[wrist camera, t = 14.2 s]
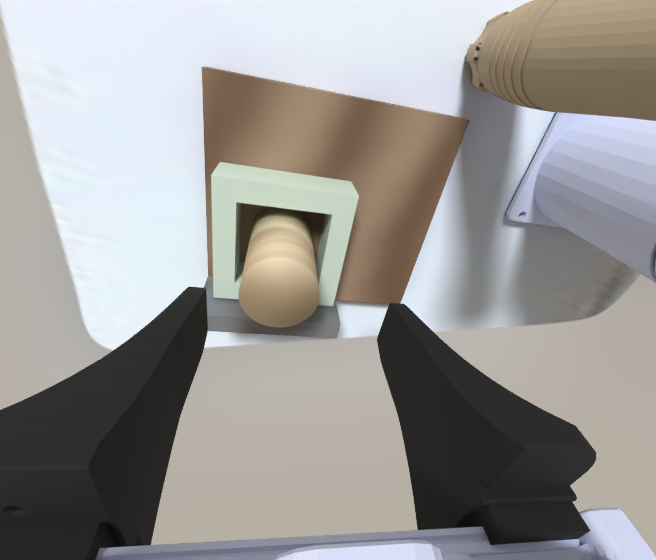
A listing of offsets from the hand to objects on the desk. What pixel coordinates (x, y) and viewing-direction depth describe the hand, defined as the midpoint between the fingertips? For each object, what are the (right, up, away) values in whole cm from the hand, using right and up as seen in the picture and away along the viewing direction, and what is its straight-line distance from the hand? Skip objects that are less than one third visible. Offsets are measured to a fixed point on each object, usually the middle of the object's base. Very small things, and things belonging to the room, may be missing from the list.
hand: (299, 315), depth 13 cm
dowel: (-2, +5, +7) cm, 9 cm away
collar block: (-2, +5, +7) cm, 9 cm away
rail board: (+1, +6, +8) cm, 10 cm away
